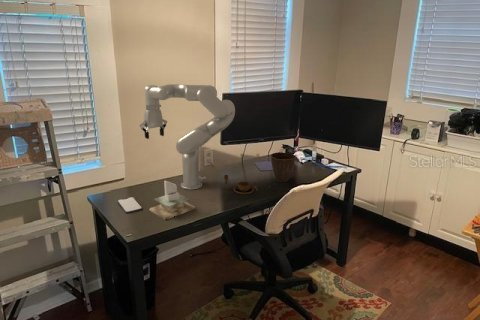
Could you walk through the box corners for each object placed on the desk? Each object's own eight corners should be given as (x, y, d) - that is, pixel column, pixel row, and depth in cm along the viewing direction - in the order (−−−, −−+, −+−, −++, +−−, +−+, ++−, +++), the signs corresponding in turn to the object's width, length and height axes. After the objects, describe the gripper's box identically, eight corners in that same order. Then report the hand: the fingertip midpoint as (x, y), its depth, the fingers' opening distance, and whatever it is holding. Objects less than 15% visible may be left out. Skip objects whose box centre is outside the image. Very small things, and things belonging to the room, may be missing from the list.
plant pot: (264, 179, 226) (265, 154, 221) (282, 174, 235) (283, 150, 229) (281, 186, 215) (282, 161, 210) (298, 181, 223) (300, 156, 218)
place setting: (232, 197, 201) (232, 187, 199) (222, 184, 219) (222, 175, 217) (261, 193, 206) (261, 184, 204) (249, 181, 224) (249, 172, 222)
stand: (179, 200, 195) (178, 190, 193) (195, 208, 185) (194, 198, 183) (149, 210, 183) (148, 199, 181) (164, 220, 173) (164, 208, 171)
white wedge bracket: (156, 196, 179) (164, 180, 179) (173, 201, 185) (180, 185, 185) (160, 199, 176) (167, 182, 176) (176, 203, 182) (183, 188, 183)
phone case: (143, 211, 184) (133, 199, 196) (143, 208, 183) (133, 196, 196) (125, 215, 179) (116, 202, 192) (125, 212, 179) (116, 200, 191)
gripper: (162, 105, 212) (163, 133, 218) (135, 108, 201) (137, 138, 206) (169, 106, 207) (170, 135, 213) (142, 110, 196) (144, 141, 201)
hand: (154, 137), depth 210 cm, fingers open, 9 cm apart
